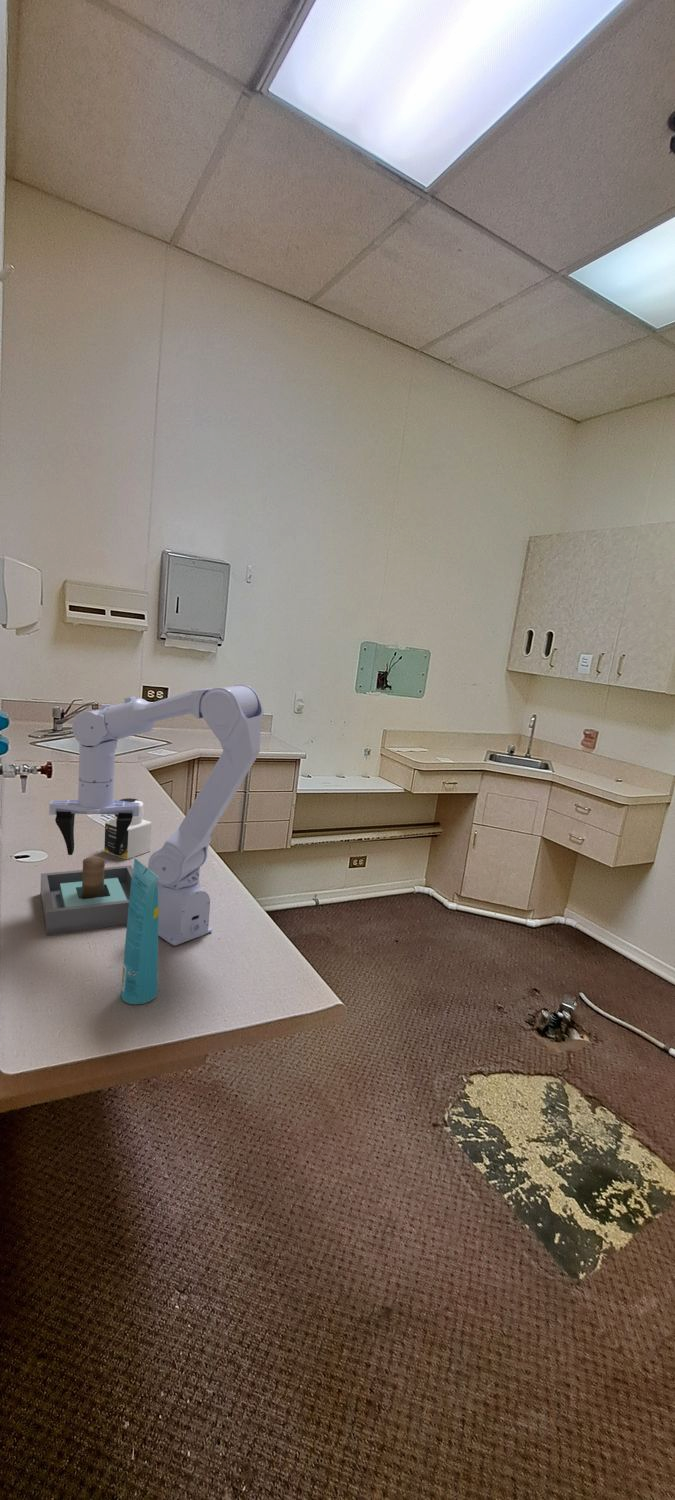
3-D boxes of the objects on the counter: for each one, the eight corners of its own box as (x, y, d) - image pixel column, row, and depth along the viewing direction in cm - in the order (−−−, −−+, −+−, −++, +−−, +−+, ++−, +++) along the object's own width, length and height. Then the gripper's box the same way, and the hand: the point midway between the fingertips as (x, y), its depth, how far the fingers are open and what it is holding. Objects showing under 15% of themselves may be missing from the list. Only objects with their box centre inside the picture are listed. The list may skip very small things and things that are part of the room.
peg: (104, 905, 107) (106, 863, 106) (83, 908, 106) (84, 865, 104) (101, 896, 110) (102, 855, 109) (80, 899, 109) (81, 857, 107)
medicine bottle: (103, 851, 134) (105, 800, 131) (128, 843, 140) (130, 794, 138) (126, 860, 131) (128, 807, 128) (150, 851, 137) (153, 801, 135)
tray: (147, 921, 106) (148, 900, 105) (46, 935, 98) (46, 912, 97) (130, 884, 119) (131, 865, 118) (40, 893, 111) (40, 873, 110)
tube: (167, 1001, 84) (175, 872, 81) (136, 1014, 81) (142, 881, 77) (141, 977, 89) (147, 855, 86) (109, 988, 86) (114, 862, 82)
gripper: (46, 783, 98) (45, 861, 101) (139, 786, 102) (135, 861, 105) (54, 772, 105) (53, 846, 107) (141, 776, 109) (138, 846, 111)
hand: (94, 853), depth 106 cm, fingers open, 7 cm apart
